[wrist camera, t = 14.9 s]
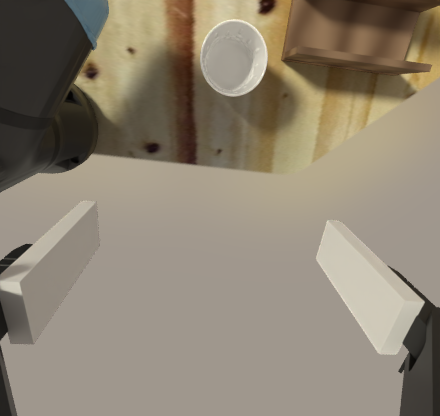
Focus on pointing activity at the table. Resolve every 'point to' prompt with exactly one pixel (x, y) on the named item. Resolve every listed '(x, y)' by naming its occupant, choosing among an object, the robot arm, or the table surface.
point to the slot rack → (354, 34)
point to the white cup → (233, 57)
